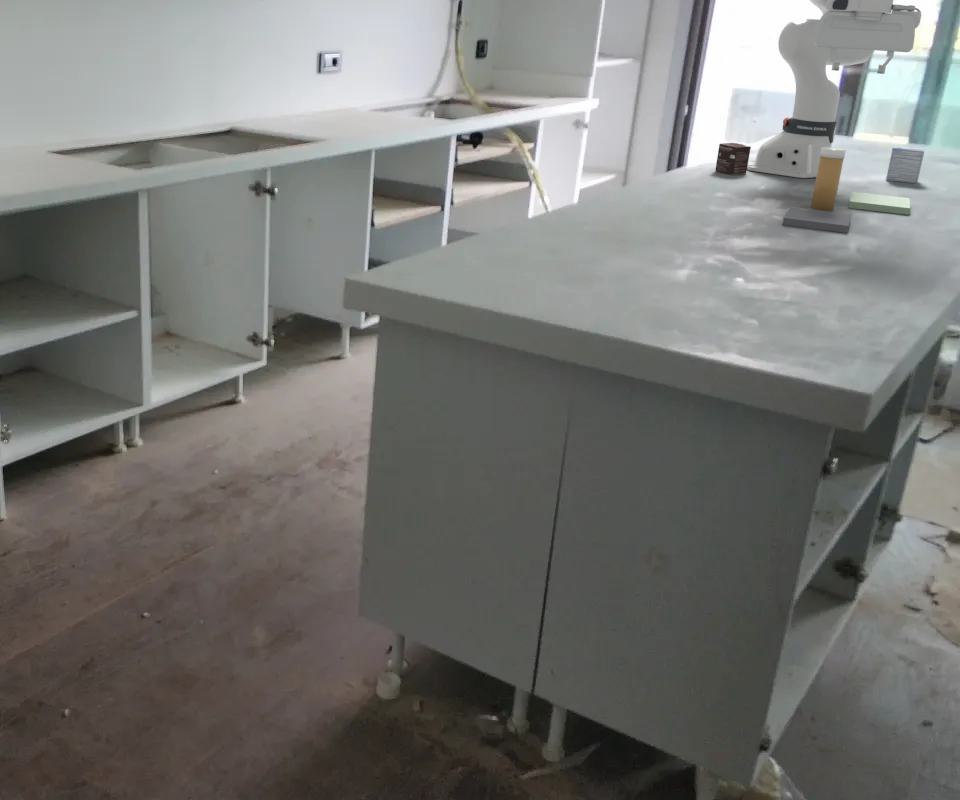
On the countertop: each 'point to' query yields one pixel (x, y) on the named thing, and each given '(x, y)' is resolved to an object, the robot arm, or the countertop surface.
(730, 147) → the box
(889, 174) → the medicine box
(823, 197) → the pill bottle
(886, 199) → the tile
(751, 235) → the countertop surface
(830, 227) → the tile
